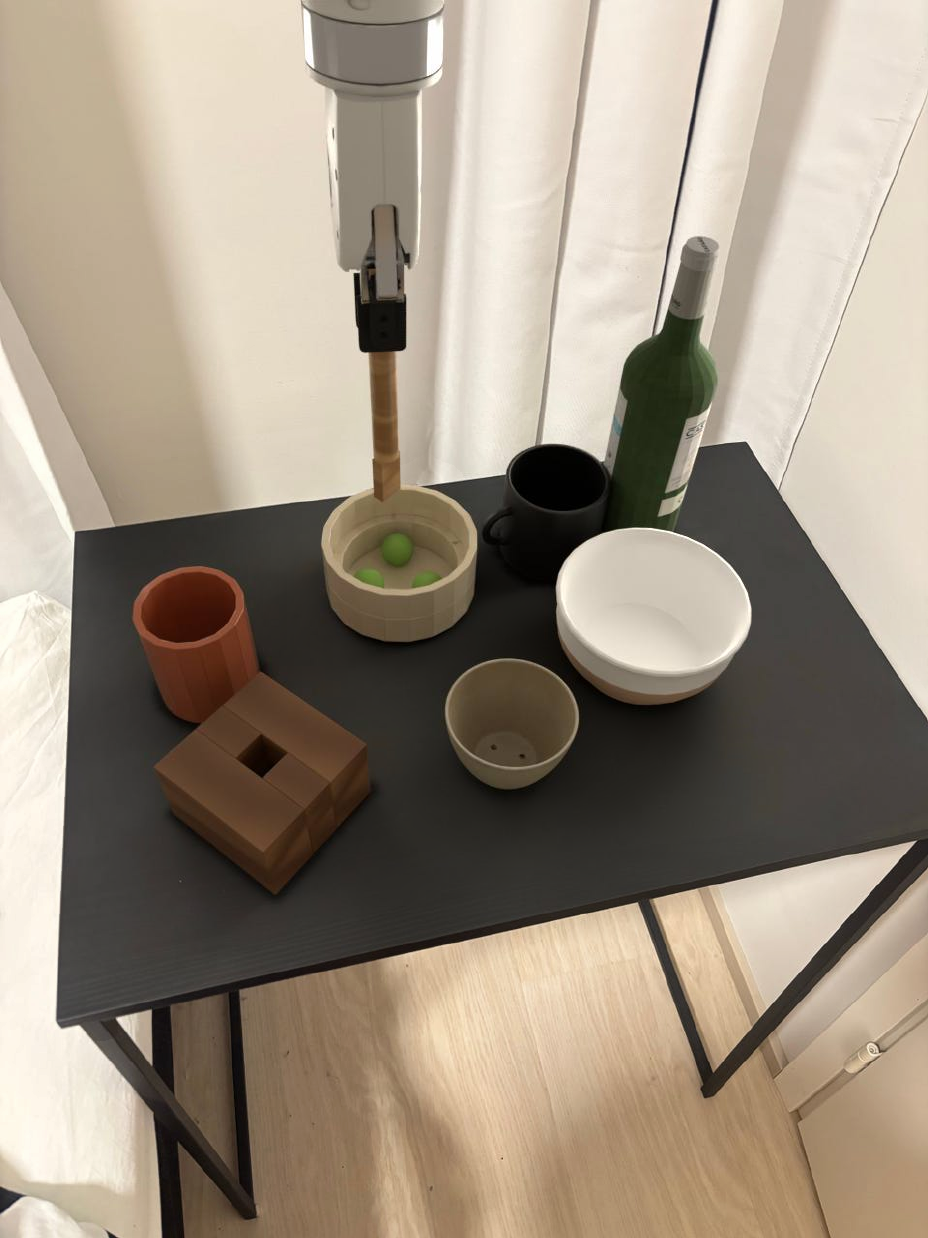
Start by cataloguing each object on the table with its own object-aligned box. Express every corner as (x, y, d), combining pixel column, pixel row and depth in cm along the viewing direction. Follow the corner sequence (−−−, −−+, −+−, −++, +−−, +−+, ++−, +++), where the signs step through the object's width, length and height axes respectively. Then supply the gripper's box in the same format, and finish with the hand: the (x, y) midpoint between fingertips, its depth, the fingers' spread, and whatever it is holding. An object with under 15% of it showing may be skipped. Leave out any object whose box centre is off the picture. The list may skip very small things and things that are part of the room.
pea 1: (369, 613, 83) (369, 595, 80) (344, 595, 84) (343, 576, 81) (391, 592, 84) (391, 573, 82) (366, 575, 85) (365, 555, 82)
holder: (275, 895, 66) (262, 852, 61) (173, 814, 70) (153, 767, 65) (370, 791, 72) (367, 744, 67) (271, 721, 76) (260, 670, 70)
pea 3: (431, 616, 82) (430, 590, 80) (405, 602, 83) (404, 576, 81) (452, 599, 84) (452, 573, 82) (426, 585, 85) (426, 560, 83)
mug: (459, 534, 90) (462, 463, 83) (567, 503, 94) (579, 432, 87) (500, 602, 85) (507, 533, 78) (613, 567, 88) (630, 497, 81)
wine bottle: (676, 562, 89) (766, 274, 66) (594, 560, 89) (656, 270, 66) (664, 505, 94) (745, 219, 71) (587, 503, 94) (643, 215, 71)
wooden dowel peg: (387, 505, 74) (379, 274, 59) (369, 494, 75) (356, 263, 59) (405, 491, 75) (402, 261, 60) (387, 480, 76) (379, 250, 61)
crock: (209, 741, 74) (185, 666, 67) (140, 689, 77) (109, 612, 69) (280, 676, 79) (265, 599, 71) (212, 629, 82) (191, 551, 74)
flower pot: (588, 793, 73) (602, 745, 67) (470, 834, 70) (475, 787, 64) (535, 695, 78) (544, 643, 73) (425, 729, 76) (425, 678, 70)
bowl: (759, 708, 78) (788, 651, 72) (584, 750, 75) (599, 694, 69) (680, 572, 88) (700, 512, 82) (521, 604, 85) (529, 544, 79)
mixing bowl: (412, 672, 79) (412, 620, 74) (297, 599, 84) (289, 545, 79) (501, 581, 86) (507, 528, 81) (390, 518, 91) (389, 464, 86)
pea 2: (390, 576, 86) (390, 557, 83) (375, 553, 87) (374, 534, 84) (419, 564, 87) (419, 545, 84) (403, 541, 88) (403, 521, 85)
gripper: (298, -11, 54) (320, 278, 68) (310, 100, 44) (333, 412, 58) (424, -10, 55) (420, 275, 69) (464, 99, 45) (450, 406, 59)
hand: (380, 336), depth 64 cm, fingers closed on wooden dowel peg, 2 cm apart
